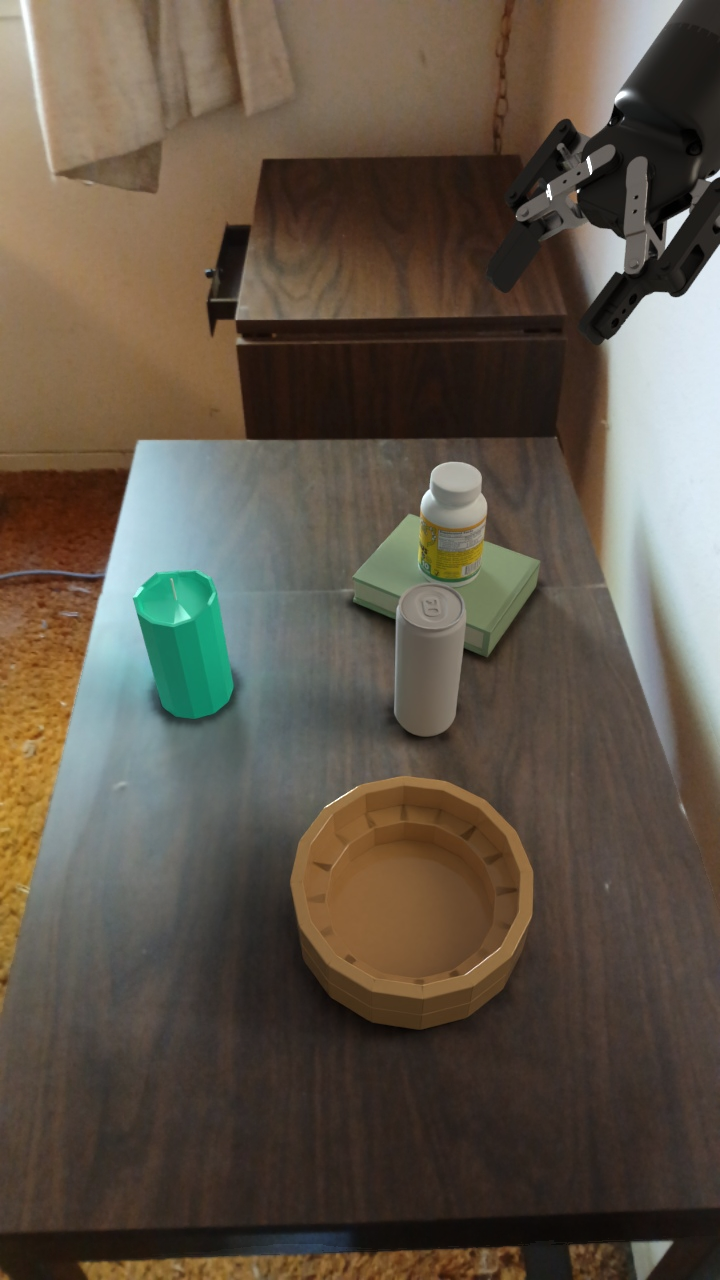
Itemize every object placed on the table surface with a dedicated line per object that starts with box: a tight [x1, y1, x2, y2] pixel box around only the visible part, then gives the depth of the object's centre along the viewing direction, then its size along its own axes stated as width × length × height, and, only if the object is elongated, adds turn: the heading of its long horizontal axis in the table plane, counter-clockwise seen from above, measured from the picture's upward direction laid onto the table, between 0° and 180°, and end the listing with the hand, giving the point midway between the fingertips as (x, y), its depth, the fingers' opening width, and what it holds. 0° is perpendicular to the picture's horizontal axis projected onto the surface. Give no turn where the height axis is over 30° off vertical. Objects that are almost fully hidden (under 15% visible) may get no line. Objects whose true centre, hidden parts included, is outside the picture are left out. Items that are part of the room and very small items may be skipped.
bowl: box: [289, 775, 534, 1031], centre depth 56 cm, size 15×15×5 cm
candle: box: [132, 569, 235, 720], centre depth 67 cm, size 6×6×12 cm
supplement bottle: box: [418, 461, 488, 588], centre depth 73 cm, size 5×5×10 cm
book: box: [352, 513, 541, 658], centre depth 77 cm, size 13×10×3 cm
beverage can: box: [393, 583, 466, 738], centre depth 65 cm, size 5×5×12 cm
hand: (538, 310), depth 55 cm, fingers open, 8 cm apart
